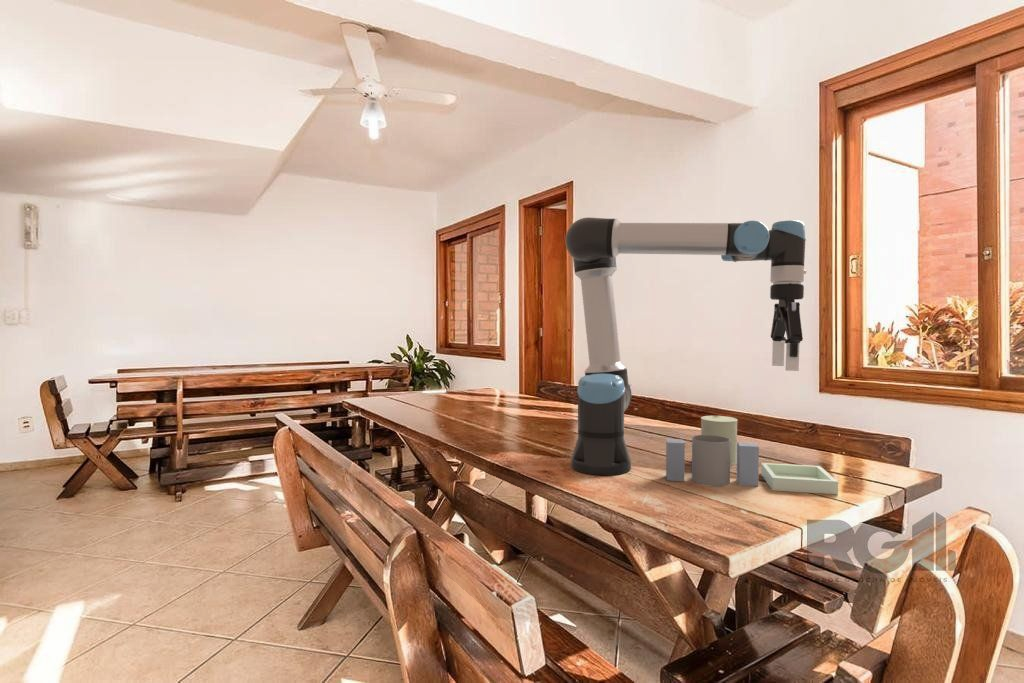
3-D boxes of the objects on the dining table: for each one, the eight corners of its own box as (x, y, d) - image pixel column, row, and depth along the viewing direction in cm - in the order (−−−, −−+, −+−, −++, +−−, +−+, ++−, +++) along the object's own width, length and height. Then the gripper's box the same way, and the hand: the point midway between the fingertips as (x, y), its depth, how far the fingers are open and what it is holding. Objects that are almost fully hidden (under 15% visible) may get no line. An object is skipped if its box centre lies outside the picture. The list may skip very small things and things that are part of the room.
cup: (731, 478, 132) (731, 436, 131) (728, 488, 124) (729, 443, 124) (693, 474, 135) (694, 433, 135) (689, 483, 128) (689, 440, 127)
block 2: (739, 484, 126) (739, 445, 126) (736, 480, 130) (737, 442, 130) (758, 486, 125) (758, 446, 125) (754, 481, 129) (755, 442, 129)
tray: (772, 490, 122) (772, 477, 122) (760, 474, 135) (761, 462, 135) (837, 494, 119) (838, 481, 119) (819, 477, 132) (819, 465, 132)
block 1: (666, 480, 130) (666, 442, 130) (666, 475, 134) (666, 438, 134) (684, 481, 129) (684, 443, 129) (683, 476, 133) (683, 439, 133)
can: (731, 457, 151) (731, 413, 151) (742, 466, 142) (742, 420, 142) (696, 456, 152) (697, 413, 152) (705, 465, 143) (705, 419, 142)
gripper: (819, 280, 126) (816, 373, 127) (789, 286, 150) (787, 364, 151) (783, 280, 128) (781, 372, 128) (760, 286, 152) (758, 363, 153)
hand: (784, 368), depth 140 cm, fingers open, 13 cm apart
